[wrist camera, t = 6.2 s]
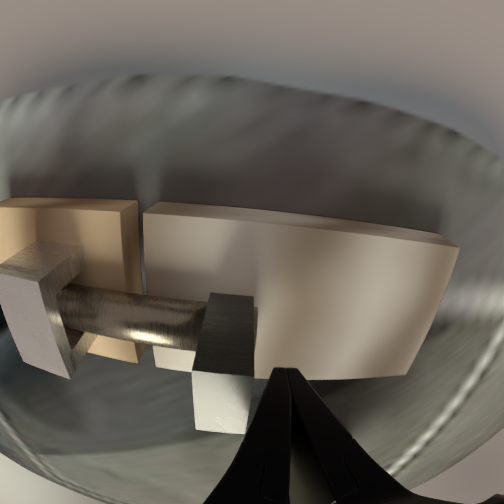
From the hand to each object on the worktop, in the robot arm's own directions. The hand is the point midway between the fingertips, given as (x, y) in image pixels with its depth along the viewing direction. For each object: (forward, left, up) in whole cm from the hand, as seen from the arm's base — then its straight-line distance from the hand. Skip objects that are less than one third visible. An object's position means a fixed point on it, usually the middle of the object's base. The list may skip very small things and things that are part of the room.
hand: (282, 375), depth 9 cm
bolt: (+5, +3, -3) cm, 7 cm away
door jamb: (+3, +2, -6) cm, 7 cm away
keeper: (+9, +4, -3) cm, 11 cm away
